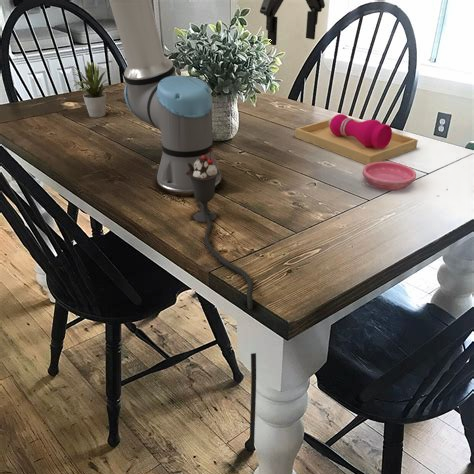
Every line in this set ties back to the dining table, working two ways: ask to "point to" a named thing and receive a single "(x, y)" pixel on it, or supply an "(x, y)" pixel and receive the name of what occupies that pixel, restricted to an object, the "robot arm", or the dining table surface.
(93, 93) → the house plant
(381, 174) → the saucer
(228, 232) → the dining table surface
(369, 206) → the dining table surface
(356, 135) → the pepper mill
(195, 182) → the sundae
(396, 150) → the tray
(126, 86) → the robot arm
